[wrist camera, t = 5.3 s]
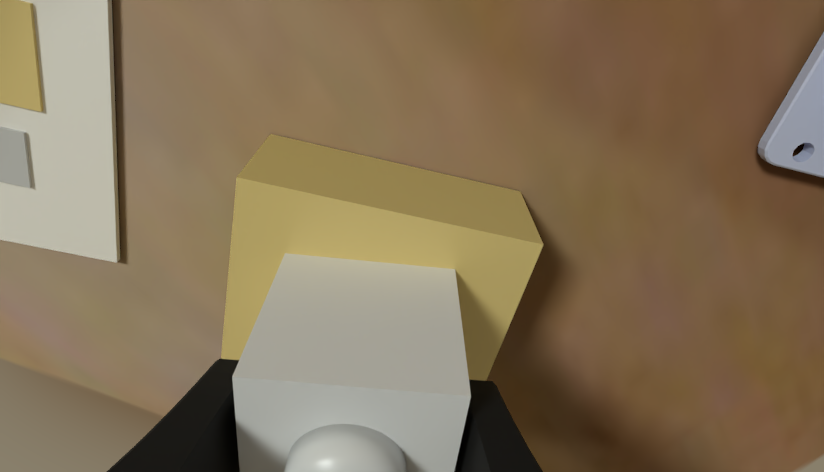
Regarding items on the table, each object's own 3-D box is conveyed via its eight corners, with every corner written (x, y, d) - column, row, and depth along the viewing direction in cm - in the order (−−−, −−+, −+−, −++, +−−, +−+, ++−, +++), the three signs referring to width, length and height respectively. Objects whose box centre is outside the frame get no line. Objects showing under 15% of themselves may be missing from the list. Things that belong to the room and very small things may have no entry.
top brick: (455, 269, 12) (476, 435, 8) (433, 391, 14) (441, 577, 10) (284, 253, 12) (216, 414, 8) (286, 379, 14) (231, 564, 10)
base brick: (520, 191, 15) (543, 244, 12) (452, 372, 18) (458, 445, 15) (270, 133, 14) (236, 177, 11) (247, 334, 17) (217, 404, 14)
